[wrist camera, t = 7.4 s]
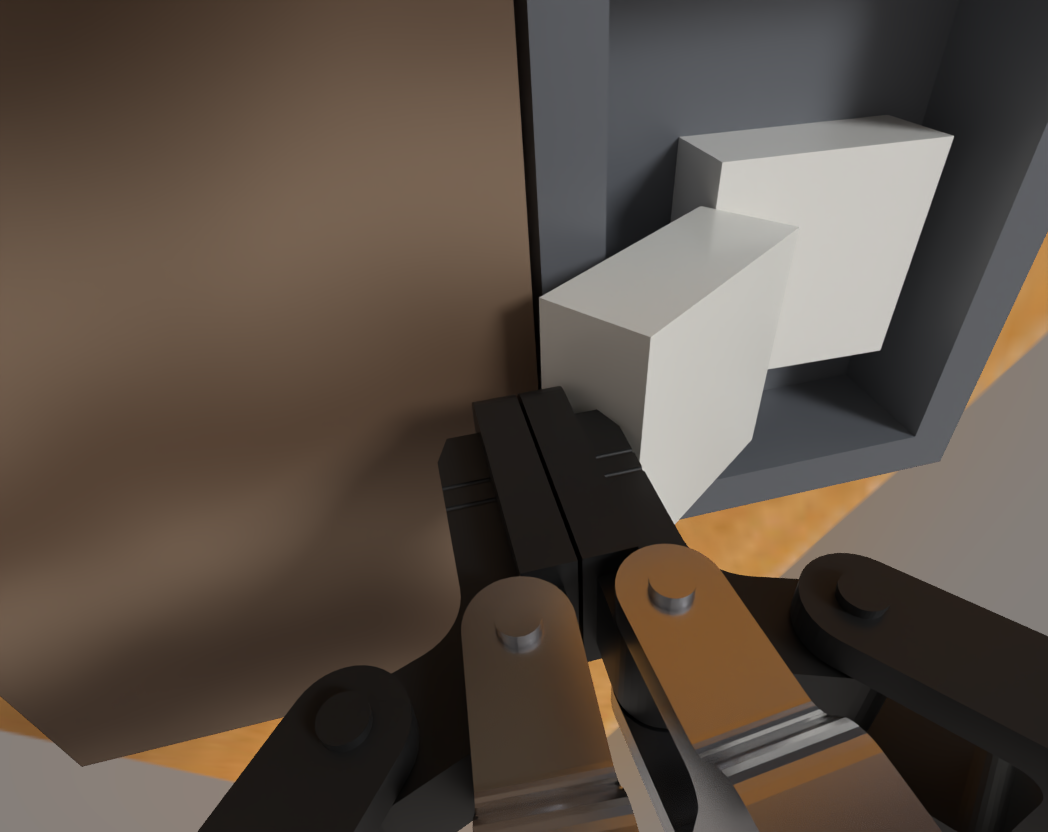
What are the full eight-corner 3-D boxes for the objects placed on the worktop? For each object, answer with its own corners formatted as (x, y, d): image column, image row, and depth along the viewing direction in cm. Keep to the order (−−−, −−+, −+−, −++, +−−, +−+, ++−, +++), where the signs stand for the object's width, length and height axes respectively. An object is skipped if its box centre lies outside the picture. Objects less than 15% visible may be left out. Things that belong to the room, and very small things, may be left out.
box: (468, -194, 10) (514, -236, 7) (1065, -232, 12) (1285, -277, 9) (525, 457, 19) (555, 547, 16) (860, 389, 20) (940, 461, 18)
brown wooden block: (-537, -244, 8) (-1234, -375, 4) (433, -286, 9) (487, -406, 6) (128, 612, 19) (81, 766, 16) (519, 528, 21) (555, 650, 17)
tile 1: (539, 297, 10) (650, 336, 9) (700, 206, 13) (799, 227, 12) (545, 523, 13) (629, 574, 12) (675, 407, 16) (751, 439, 15)
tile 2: (954, 135, 13) (887, 114, 14) (722, 162, 12) (679, 136, 14) (880, 350, 16) (831, 313, 17) (691, 382, 15) (658, 340, 17)
